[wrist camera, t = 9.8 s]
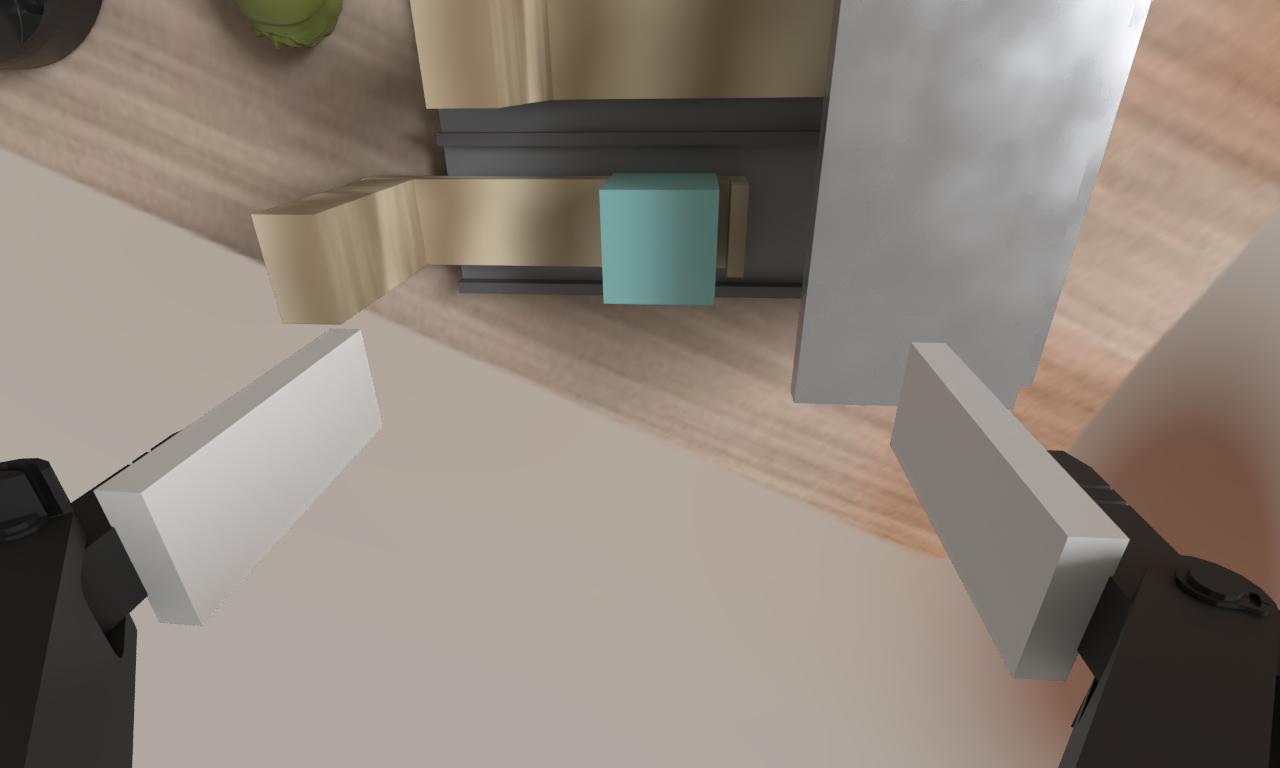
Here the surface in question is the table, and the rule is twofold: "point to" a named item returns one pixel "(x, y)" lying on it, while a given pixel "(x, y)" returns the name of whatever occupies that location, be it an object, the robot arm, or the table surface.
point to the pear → (291, 20)
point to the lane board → (652, 143)
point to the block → (659, 238)
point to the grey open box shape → (952, 184)
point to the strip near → (619, 49)
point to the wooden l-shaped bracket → (443, 234)
